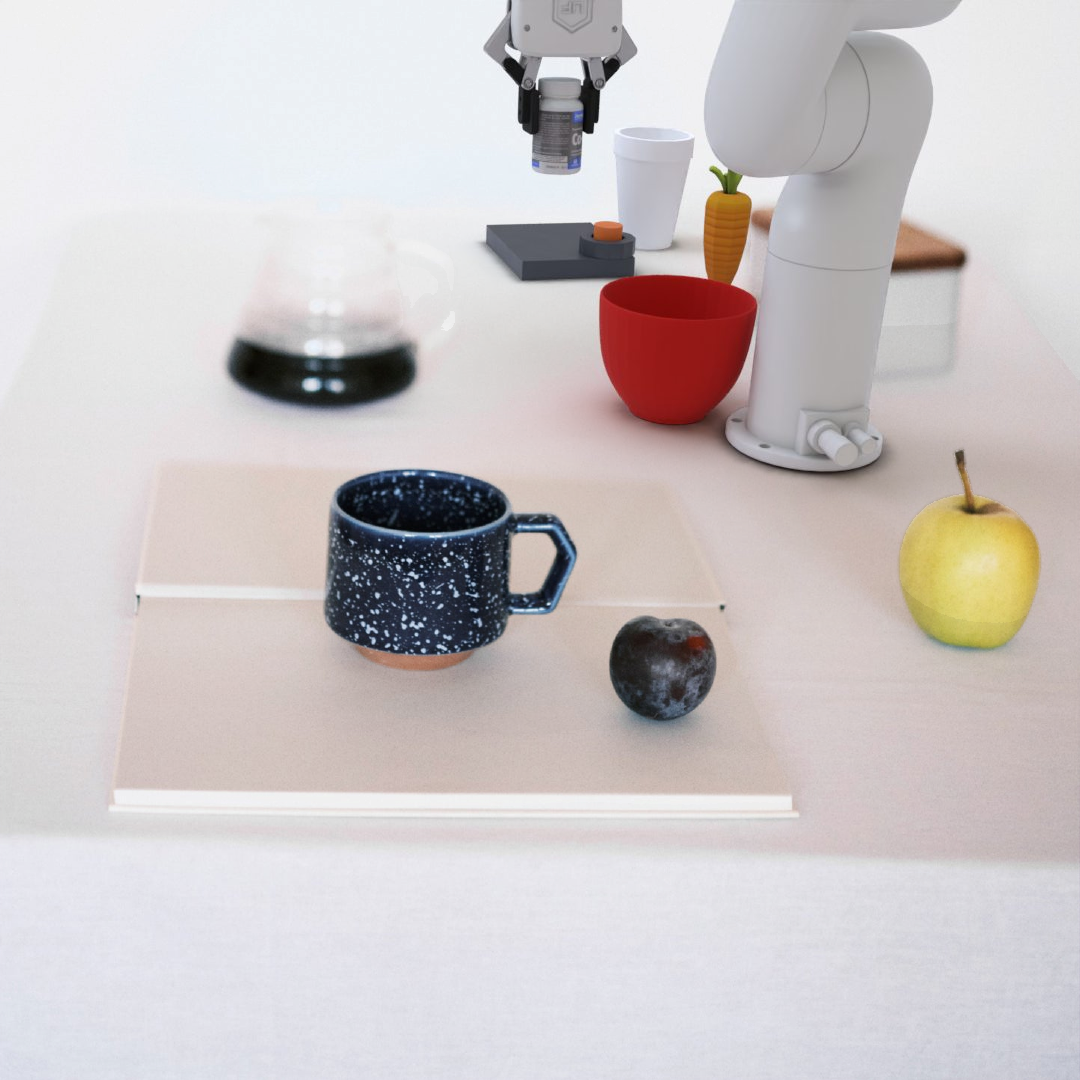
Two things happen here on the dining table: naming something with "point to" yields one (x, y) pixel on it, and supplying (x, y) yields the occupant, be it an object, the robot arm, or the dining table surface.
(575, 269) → the scale
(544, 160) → the pill bottle
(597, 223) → the button
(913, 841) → the dining table surface
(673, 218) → the foam cup
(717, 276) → the carrot
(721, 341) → the ceramic cup
